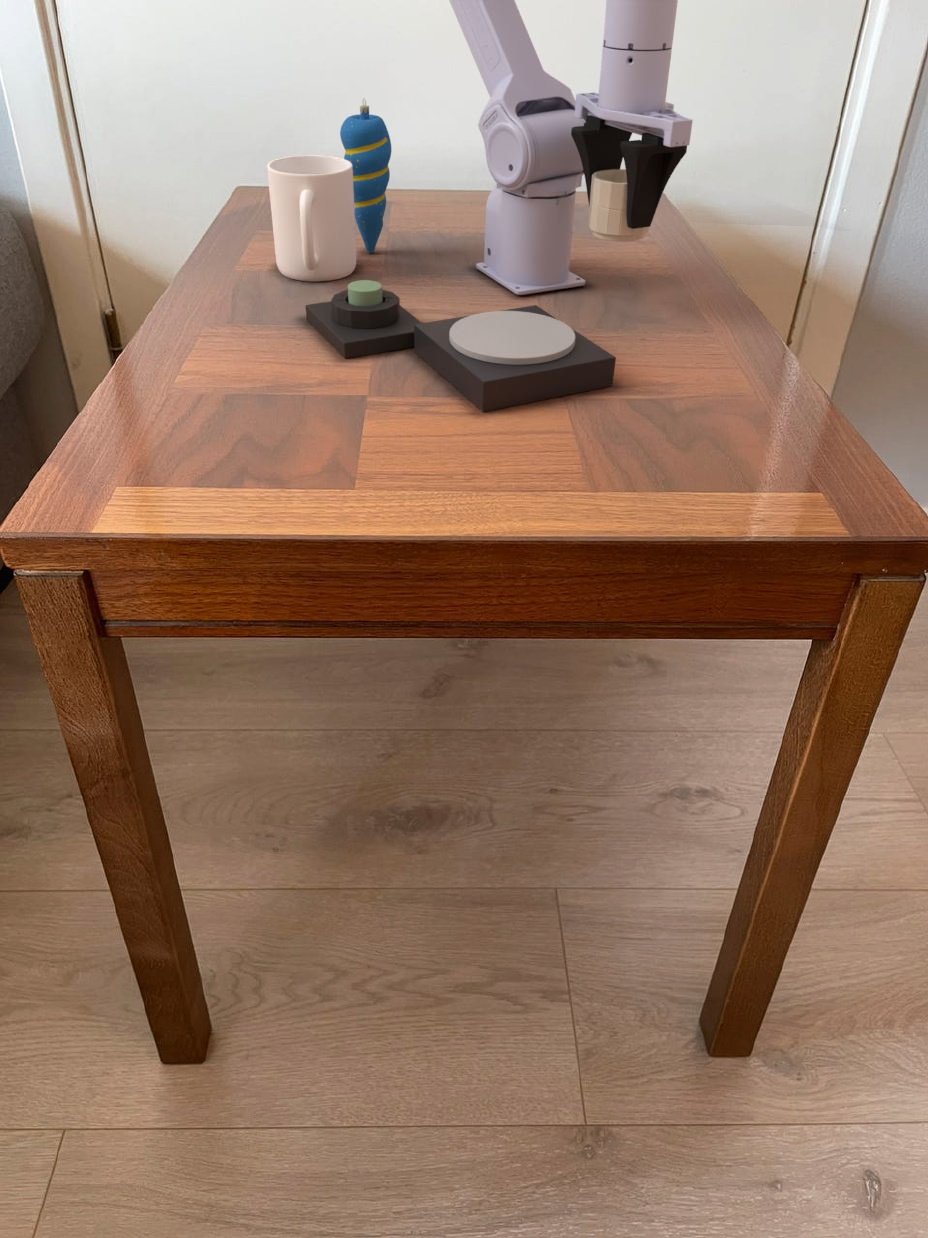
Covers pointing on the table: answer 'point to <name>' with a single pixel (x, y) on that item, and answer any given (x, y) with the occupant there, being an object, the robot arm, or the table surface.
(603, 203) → the beige handleless cup
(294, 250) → the cup
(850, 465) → the table surface
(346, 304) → the pad
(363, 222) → the ornament
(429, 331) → the scale
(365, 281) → the button
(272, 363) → the table surface
